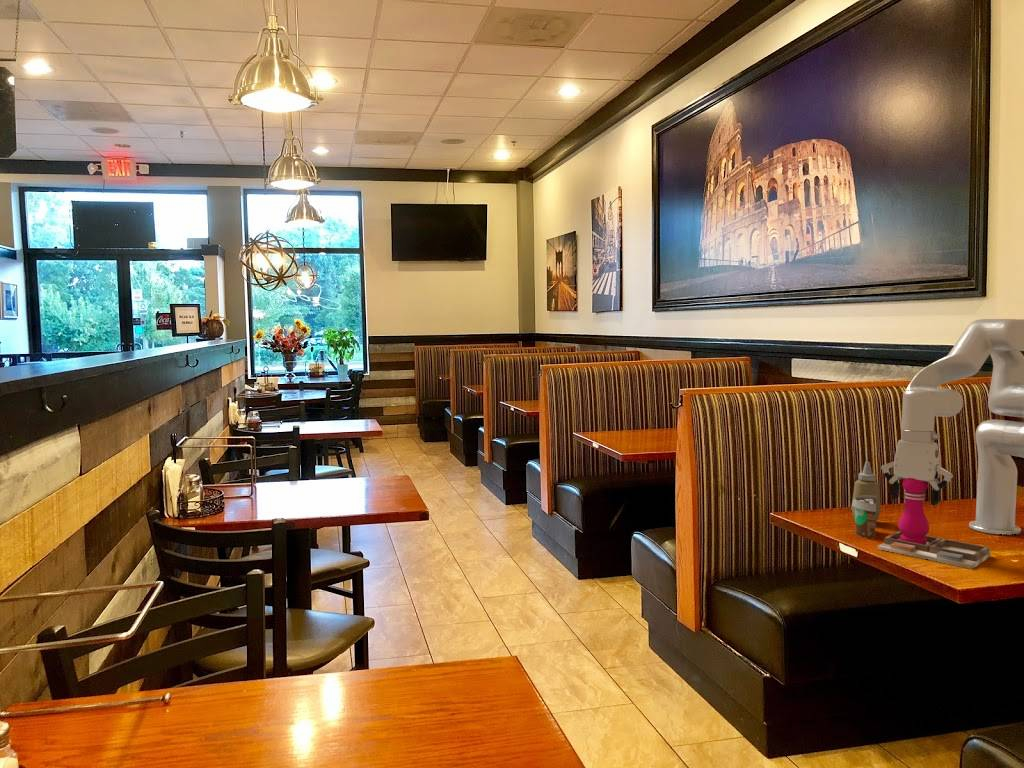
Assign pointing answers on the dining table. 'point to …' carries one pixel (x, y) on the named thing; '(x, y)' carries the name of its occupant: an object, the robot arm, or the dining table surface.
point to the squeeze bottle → (867, 487)
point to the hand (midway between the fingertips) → (914, 501)
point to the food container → (865, 515)
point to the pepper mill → (914, 512)
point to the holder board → (938, 550)
